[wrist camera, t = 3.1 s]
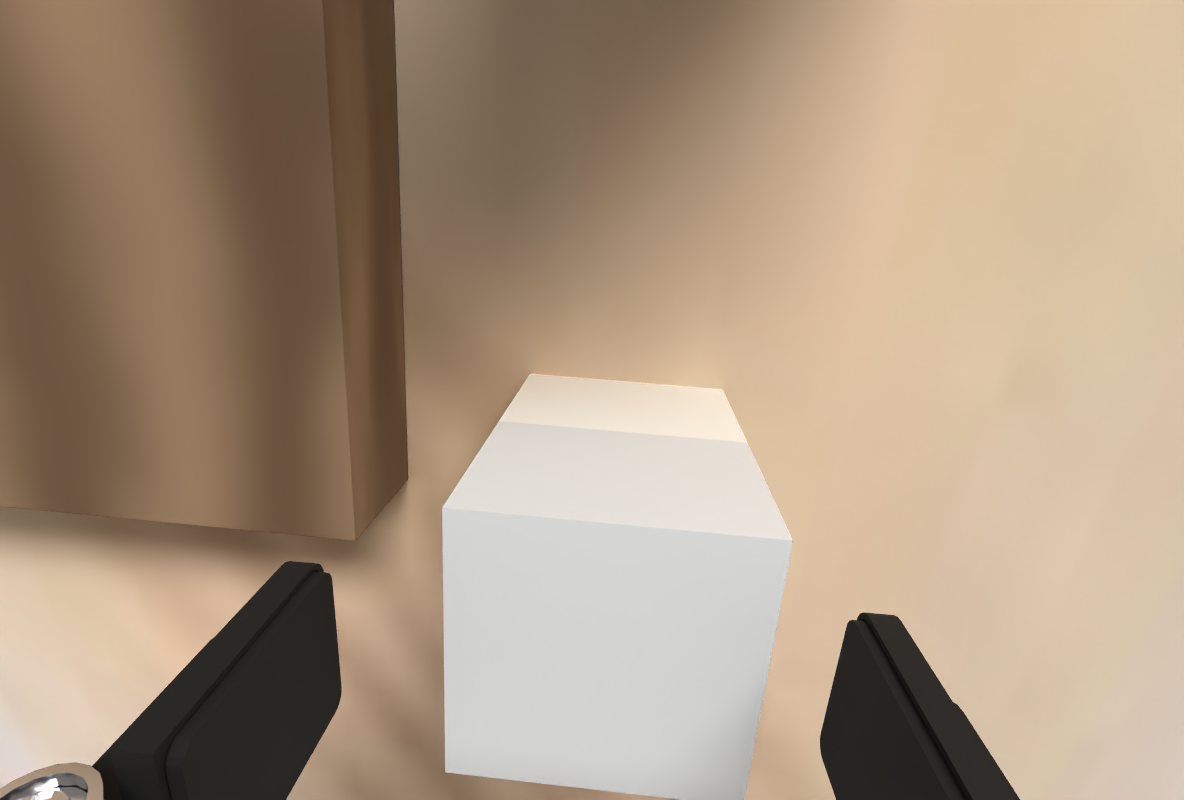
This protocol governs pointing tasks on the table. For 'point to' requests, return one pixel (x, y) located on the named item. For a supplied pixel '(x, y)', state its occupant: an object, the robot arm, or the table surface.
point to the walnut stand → (201, 262)
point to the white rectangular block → (611, 593)
